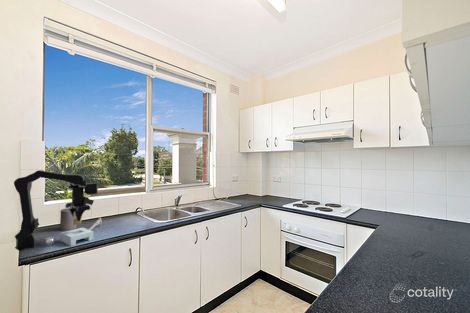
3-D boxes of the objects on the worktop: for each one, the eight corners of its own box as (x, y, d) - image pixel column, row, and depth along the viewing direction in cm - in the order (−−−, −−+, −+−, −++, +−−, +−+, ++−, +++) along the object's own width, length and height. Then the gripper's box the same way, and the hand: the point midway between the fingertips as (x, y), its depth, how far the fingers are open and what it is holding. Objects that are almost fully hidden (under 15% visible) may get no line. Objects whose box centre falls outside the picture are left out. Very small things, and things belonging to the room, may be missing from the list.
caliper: (100, 225, 164) (100, 216, 164) (101, 225, 164) (101, 216, 164) (84, 234, 144) (84, 225, 144) (86, 234, 144) (86, 225, 144)
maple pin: (75, 225, 130) (75, 212, 131) (72, 224, 132) (72, 211, 133) (82, 224, 134) (82, 211, 134) (79, 223, 136) (79, 210, 136)
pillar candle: (57, 229, 153) (57, 208, 153) (72, 225, 161) (72, 205, 161) (64, 231, 148) (65, 209, 148) (80, 227, 157) (80, 207, 157)
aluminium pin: (46, 246, 123) (46, 239, 123) (43, 245, 125) (43, 238, 125) (55, 244, 126) (55, 237, 126) (52, 243, 128) (52, 236, 128)
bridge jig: (70, 245, 124) (71, 237, 124) (60, 240, 132) (60, 232, 132) (93, 239, 135) (93, 231, 135) (82, 235, 142) (82, 227, 142)
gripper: (99, 194, 135) (99, 219, 135) (85, 192, 145) (84, 215, 145) (79, 197, 126) (78, 224, 126) (65, 194, 136) (64, 219, 135)
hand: (77, 220), depth 133 cm, fingers closed on maple pin, 4 cm apart
